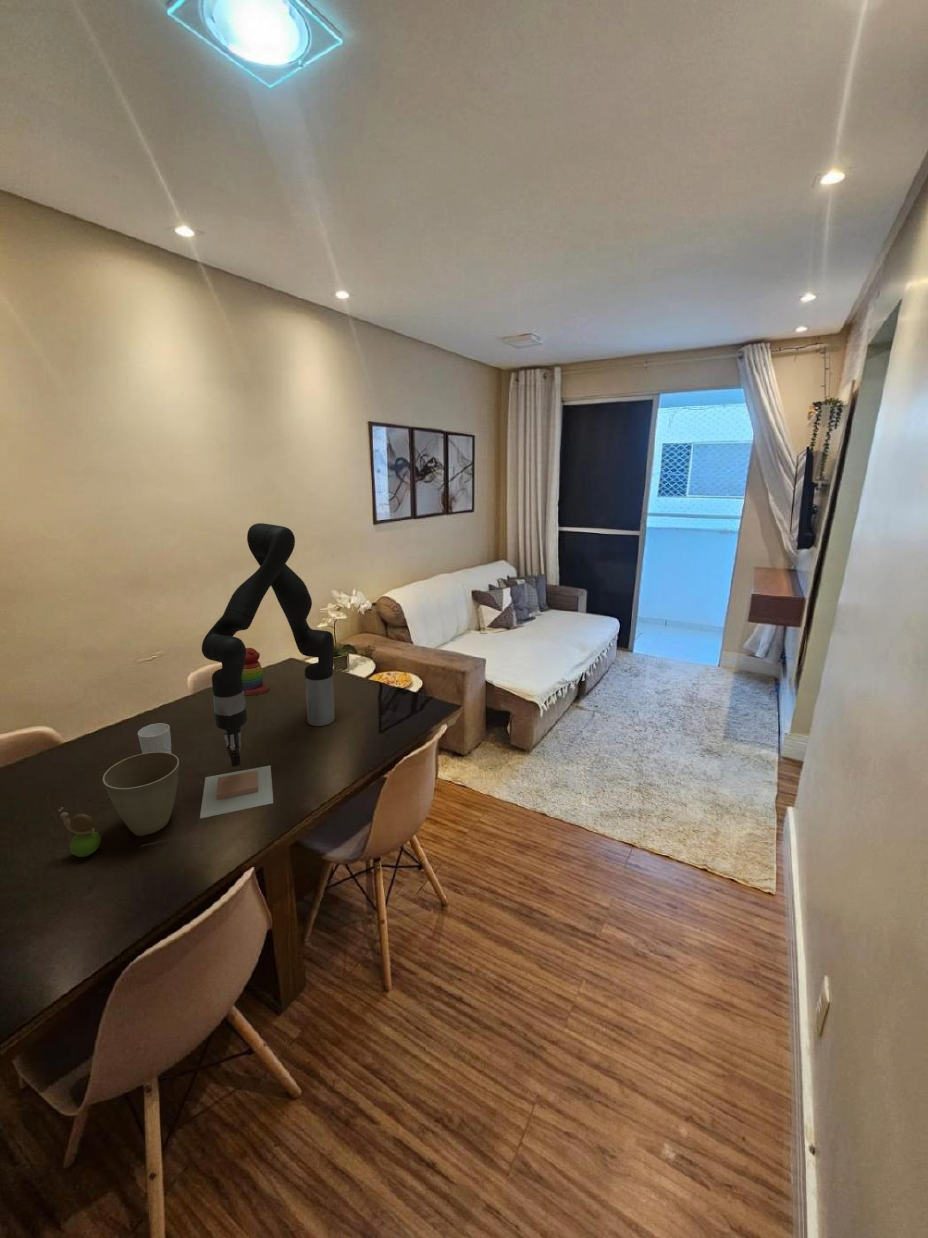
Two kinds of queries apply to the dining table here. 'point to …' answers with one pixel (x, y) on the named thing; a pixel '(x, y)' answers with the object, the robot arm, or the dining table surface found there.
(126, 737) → the dining table surface
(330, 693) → the robot arm
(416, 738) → the dining table surface
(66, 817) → the snail figurine
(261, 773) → the mat
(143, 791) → the plant pot
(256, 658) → the stacking bear
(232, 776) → the tile
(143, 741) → the white cup
